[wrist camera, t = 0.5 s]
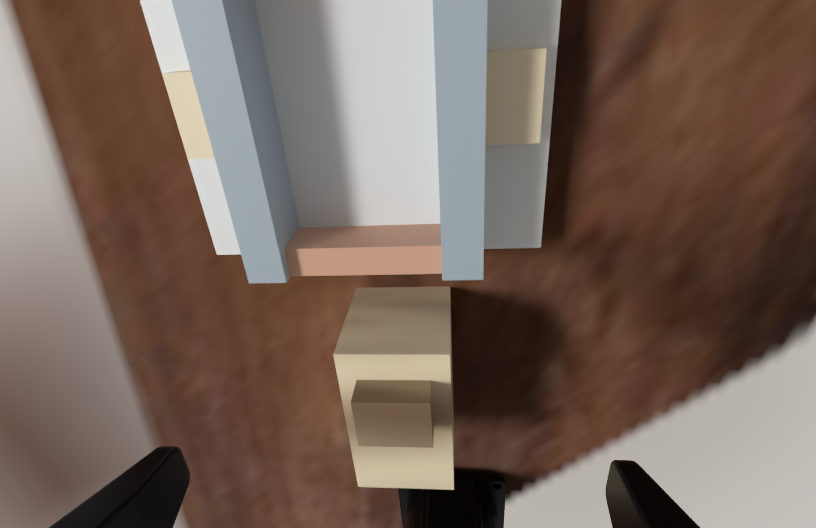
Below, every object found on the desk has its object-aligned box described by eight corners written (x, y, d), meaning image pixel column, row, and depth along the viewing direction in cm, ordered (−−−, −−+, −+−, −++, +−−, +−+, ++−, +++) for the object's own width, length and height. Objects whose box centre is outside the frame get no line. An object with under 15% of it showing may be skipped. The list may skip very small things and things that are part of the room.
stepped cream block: (453, 407, 25) (454, 515, 20) (373, 406, 26) (353, 511, 20) (450, 285, 21) (449, 376, 16) (356, 286, 22) (325, 376, 16)
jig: (535, 235, 20) (553, 278, 16) (228, 242, 21) (188, 284, 18) (563, -120, 14) (597, -160, 11) (137, -75, 15) (53, -100, 12)
